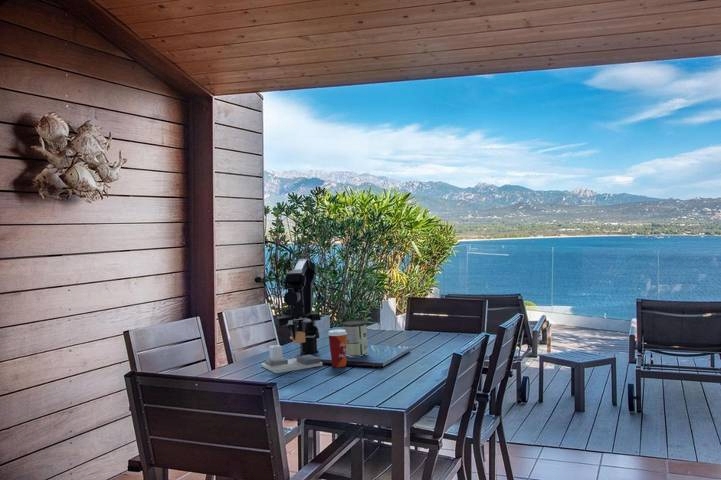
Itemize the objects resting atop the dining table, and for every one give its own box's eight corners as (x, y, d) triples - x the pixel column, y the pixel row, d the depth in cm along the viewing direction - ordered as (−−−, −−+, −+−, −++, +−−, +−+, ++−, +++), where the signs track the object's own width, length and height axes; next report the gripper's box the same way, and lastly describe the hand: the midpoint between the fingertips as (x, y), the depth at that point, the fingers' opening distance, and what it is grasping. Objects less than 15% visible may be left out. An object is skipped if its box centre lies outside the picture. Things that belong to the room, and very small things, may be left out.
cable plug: (294, 338, 290) (294, 329, 290) (305, 342, 280) (304, 332, 280) (286, 339, 288) (285, 330, 288) (296, 343, 278) (296, 333, 278)
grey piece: (310, 359, 279) (309, 354, 279) (320, 362, 270) (319, 358, 270) (296, 361, 276) (296, 356, 276) (306, 365, 268) (306, 360, 267)
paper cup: (346, 367, 264) (344, 332, 264) (327, 368, 266) (325, 332, 265) (350, 363, 272) (348, 328, 271) (332, 363, 273) (330, 329, 273)
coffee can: (345, 353, 294) (343, 320, 293) (369, 352, 293) (367, 319, 292) (342, 358, 284) (340, 324, 283) (367, 357, 283) (365, 323, 282)
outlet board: (306, 359, 285) (306, 352, 285) (322, 365, 271) (322, 358, 271) (261, 366, 276) (261, 359, 276) (275, 373, 261) (275, 366, 261)
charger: (279, 361, 277) (278, 344, 277) (283, 363, 274) (281, 345, 273) (270, 363, 275) (269, 345, 275) (273, 364, 272) (272, 347, 271)
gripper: (309, 298, 292) (311, 334, 292) (268, 303, 283) (270, 340, 283) (320, 300, 282) (322, 337, 282) (278, 305, 273) (280, 343, 274)
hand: (298, 339), depth 281 cm, fingers closed on cable plug, 4 cm apart
